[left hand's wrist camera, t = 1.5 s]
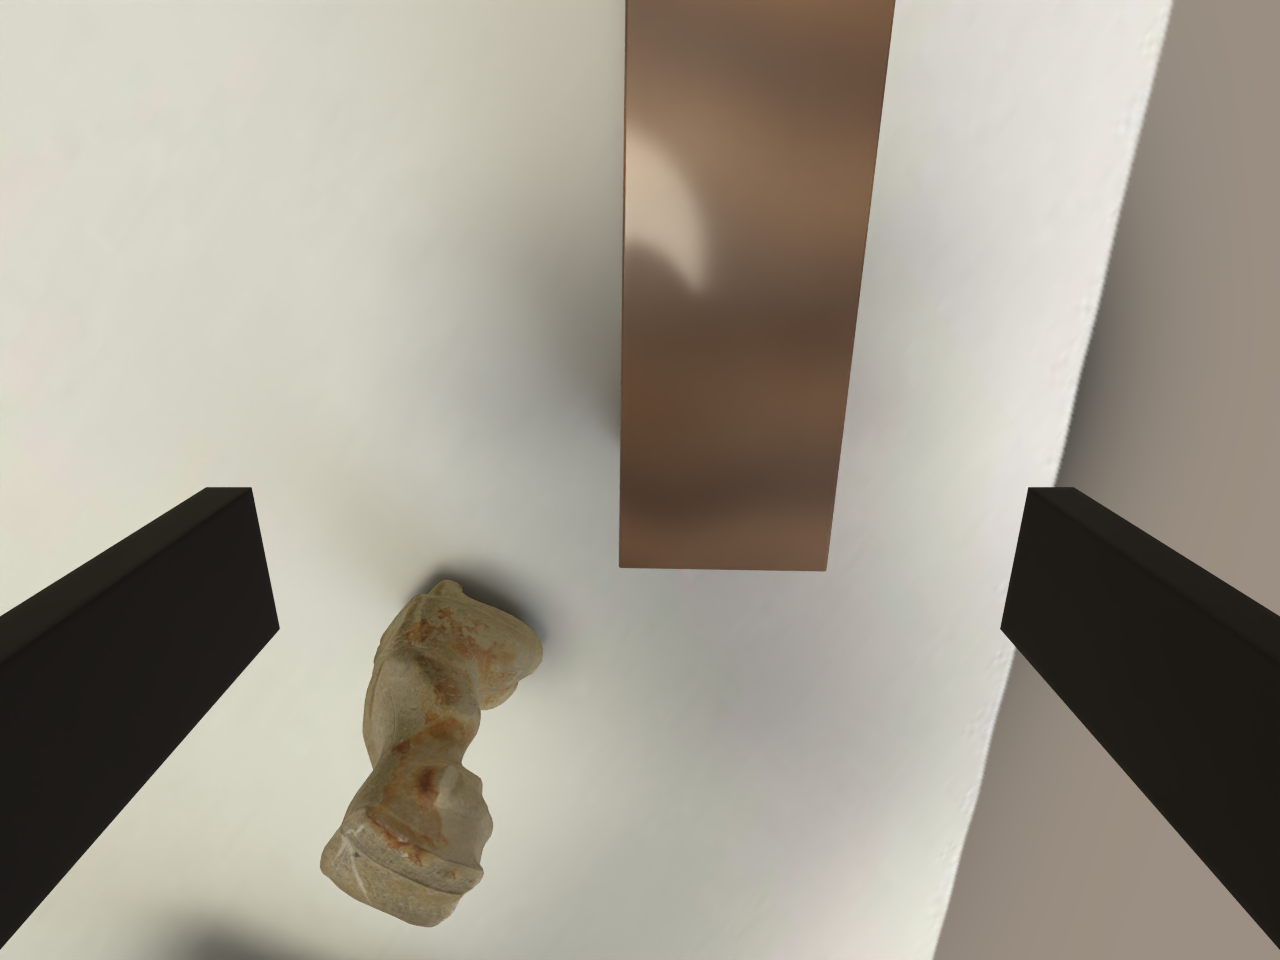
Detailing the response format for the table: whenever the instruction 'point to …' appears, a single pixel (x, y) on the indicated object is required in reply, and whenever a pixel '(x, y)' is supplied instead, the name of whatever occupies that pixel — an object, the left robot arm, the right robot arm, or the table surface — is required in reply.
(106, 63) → the table surface
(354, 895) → the sculpture
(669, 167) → the box
